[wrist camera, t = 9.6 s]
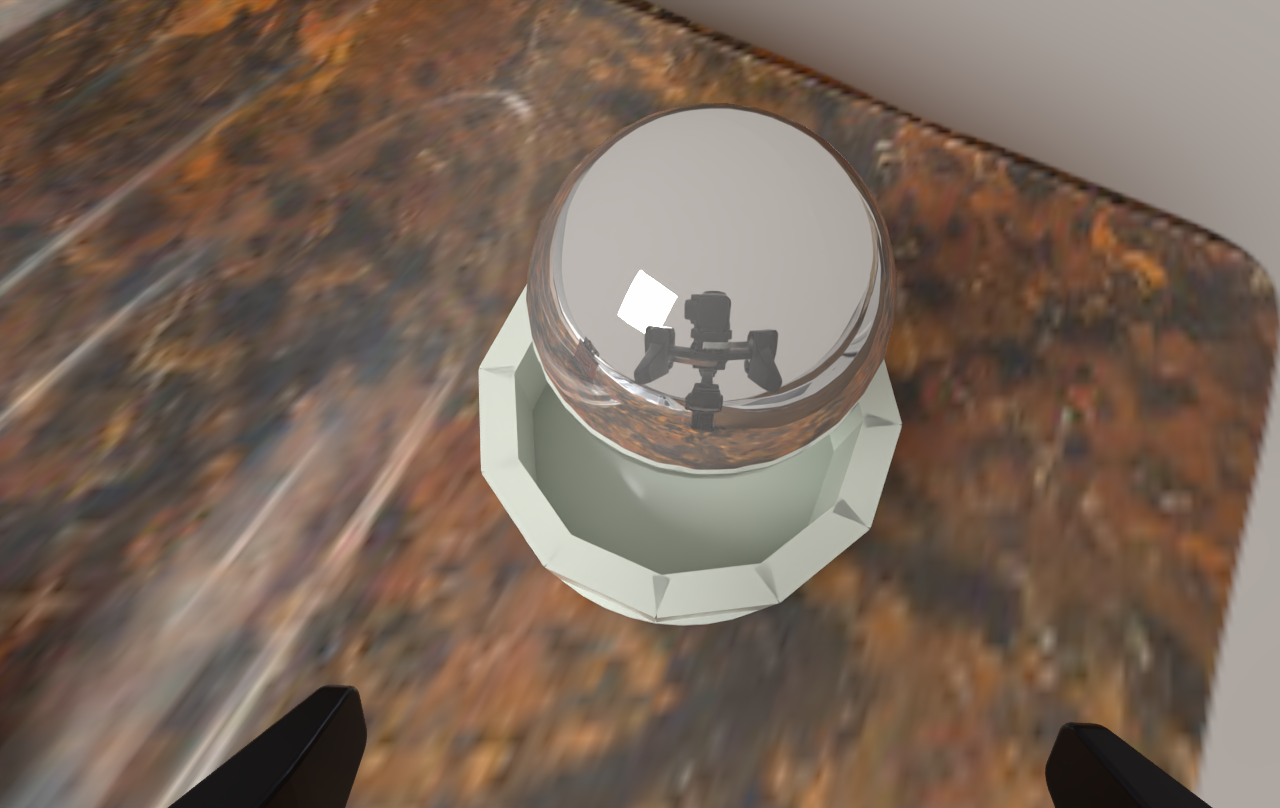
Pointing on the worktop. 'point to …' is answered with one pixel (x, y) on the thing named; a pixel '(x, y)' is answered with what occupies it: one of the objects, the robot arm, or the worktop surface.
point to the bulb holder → (672, 501)
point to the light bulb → (711, 291)
